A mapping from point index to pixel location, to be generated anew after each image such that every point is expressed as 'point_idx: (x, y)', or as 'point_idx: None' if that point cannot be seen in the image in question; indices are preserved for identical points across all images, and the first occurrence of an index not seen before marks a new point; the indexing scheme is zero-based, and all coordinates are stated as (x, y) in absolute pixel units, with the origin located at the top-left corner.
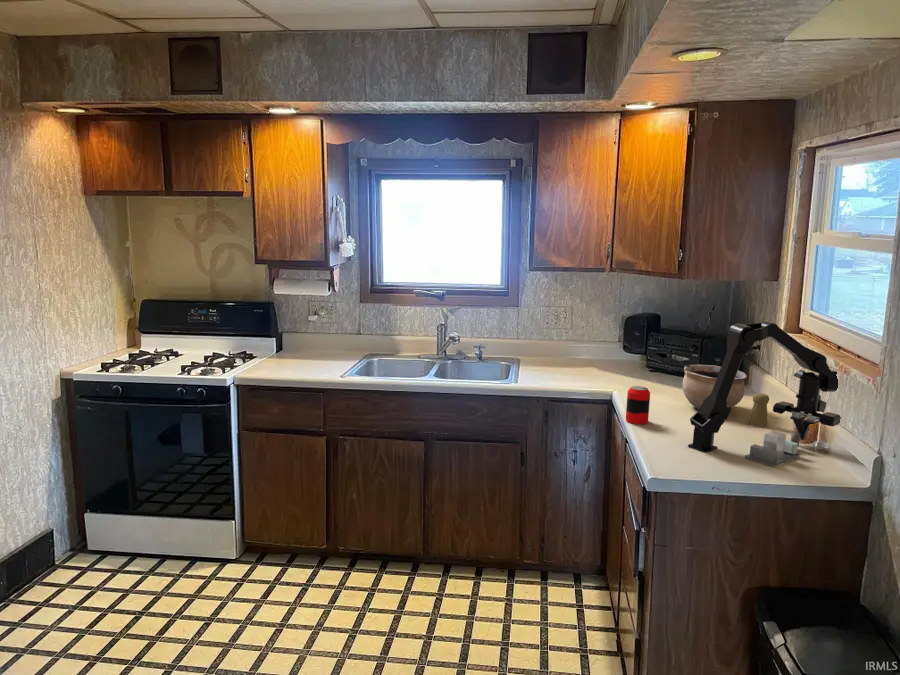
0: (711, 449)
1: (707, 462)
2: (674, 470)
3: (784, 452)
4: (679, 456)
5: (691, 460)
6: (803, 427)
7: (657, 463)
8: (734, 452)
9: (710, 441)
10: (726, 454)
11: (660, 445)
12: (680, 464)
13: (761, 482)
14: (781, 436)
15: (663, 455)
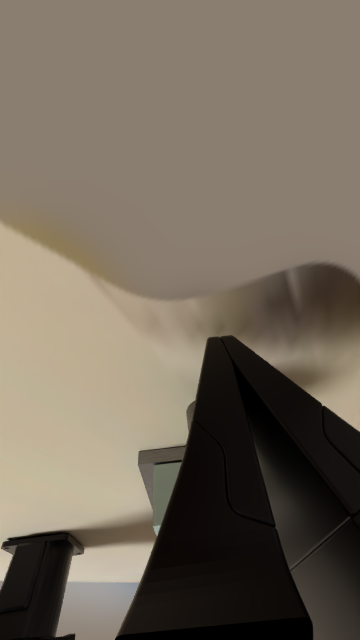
0: (77, 546)
1: (136, 554)
2: (139, 574)
3: None
4: (85, 565)
5: (113, 561)
6: (287, 542)
7: (101, 578)
8: (112, 519)
9: (66, 581)
10: (115, 531)
11: (5, 570)
12: (122, 569)
13: None
14: None
15: (69, 573)
